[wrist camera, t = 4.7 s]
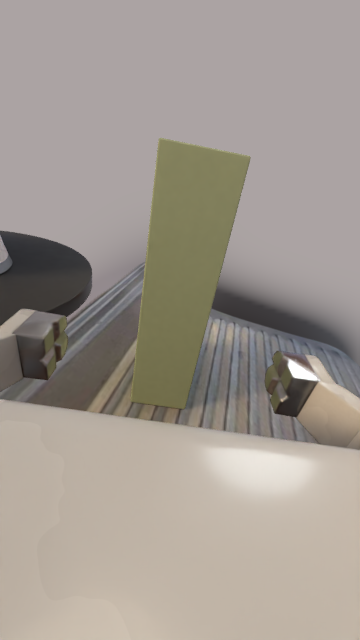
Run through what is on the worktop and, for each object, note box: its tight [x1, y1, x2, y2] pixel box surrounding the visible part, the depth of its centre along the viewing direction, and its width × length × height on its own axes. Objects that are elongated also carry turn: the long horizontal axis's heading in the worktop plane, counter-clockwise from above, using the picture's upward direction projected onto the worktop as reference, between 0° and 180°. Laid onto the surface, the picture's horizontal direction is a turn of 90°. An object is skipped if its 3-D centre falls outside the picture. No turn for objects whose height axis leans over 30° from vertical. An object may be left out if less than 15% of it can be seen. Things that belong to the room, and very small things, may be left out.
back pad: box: [131, 138, 250, 409], centre depth 18 cm, size 4×6×16 cm, turn 178°
